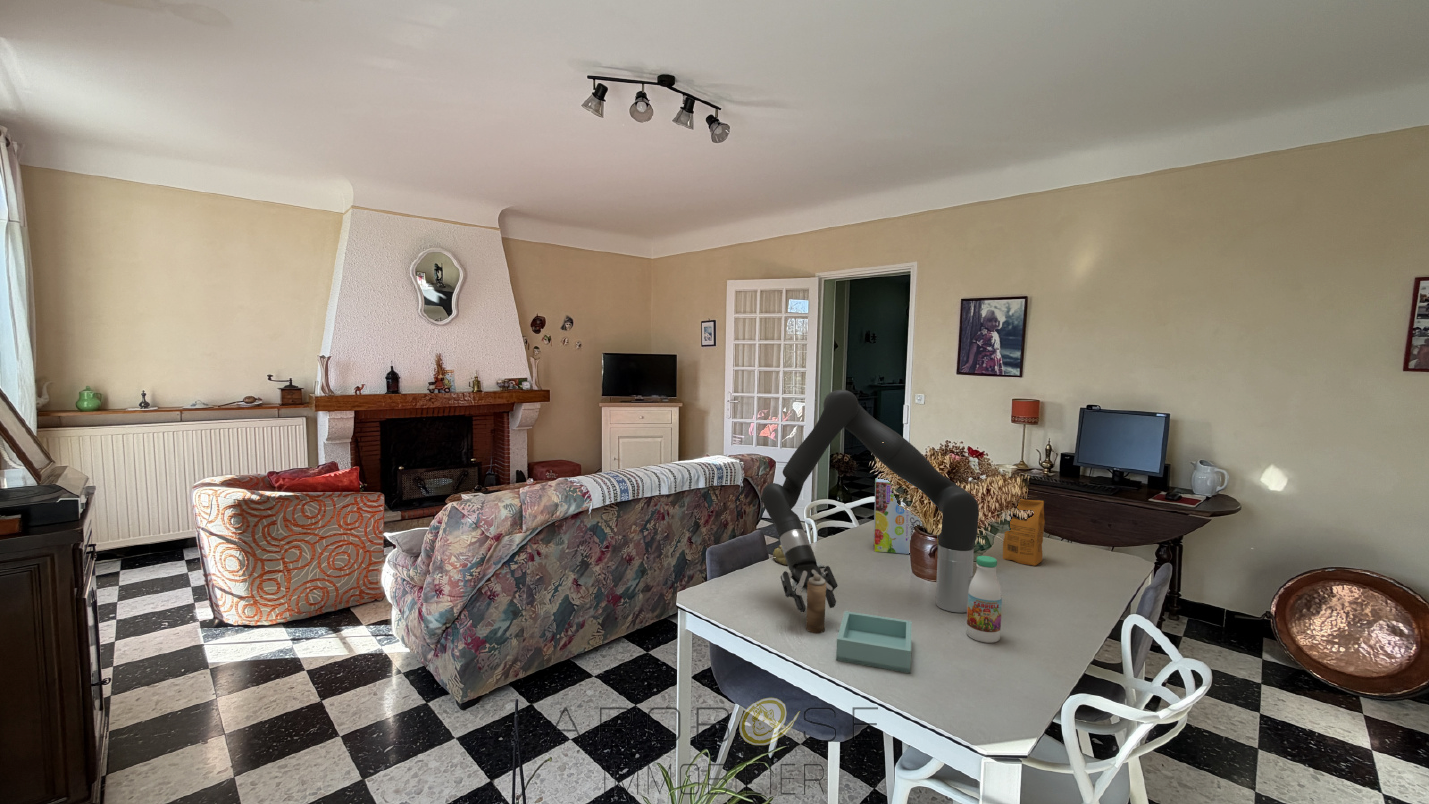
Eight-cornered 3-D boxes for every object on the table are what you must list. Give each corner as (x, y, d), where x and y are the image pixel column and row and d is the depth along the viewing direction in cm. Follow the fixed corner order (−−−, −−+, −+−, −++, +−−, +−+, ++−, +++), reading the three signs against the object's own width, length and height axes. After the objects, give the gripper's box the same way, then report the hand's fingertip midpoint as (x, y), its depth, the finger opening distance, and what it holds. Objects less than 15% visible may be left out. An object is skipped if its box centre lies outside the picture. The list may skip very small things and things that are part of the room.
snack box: (934, 549, 215) (937, 480, 213) (937, 557, 207) (940, 485, 205) (872, 544, 220) (875, 476, 218) (873, 552, 211) (876, 481, 210)
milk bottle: (961, 628, 151) (964, 552, 150) (991, 629, 151) (995, 553, 150) (973, 643, 144) (977, 563, 142) (1005, 644, 143) (1010, 563, 142)
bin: (910, 640, 144) (911, 621, 144) (910, 673, 129) (911, 651, 129) (844, 630, 150) (844, 611, 149) (836, 660, 134) (836, 638, 134)
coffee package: (1009, 552, 213) (1012, 492, 212) (1046, 561, 204) (1050, 499, 203) (997, 558, 207) (1000, 496, 205) (1035, 568, 198) (1039, 503, 196)
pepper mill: (825, 626, 151) (827, 572, 150) (823, 634, 147) (824, 578, 146) (807, 623, 153) (809, 569, 152) (804, 631, 148) (806, 576, 147)
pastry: (820, 560, 202) (821, 537, 201) (805, 571, 191) (806, 547, 191) (783, 552, 210) (784, 530, 209) (767, 562, 199) (767, 539, 198)
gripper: (778, 546, 153) (799, 606, 143) (826, 541, 158) (849, 599, 148) (768, 559, 158) (788, 619, 148) (815, 554, 163) (836, 611, 153)
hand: (818, 609), depth 148 cm, fingers open, 8 cm apart
